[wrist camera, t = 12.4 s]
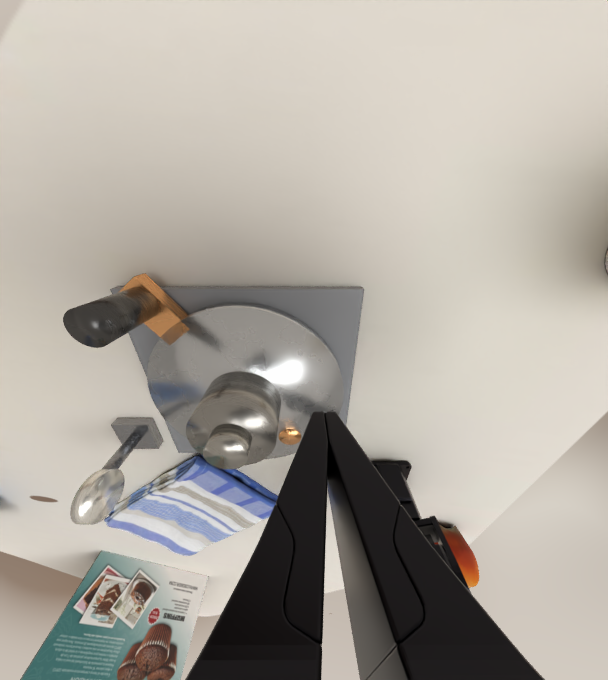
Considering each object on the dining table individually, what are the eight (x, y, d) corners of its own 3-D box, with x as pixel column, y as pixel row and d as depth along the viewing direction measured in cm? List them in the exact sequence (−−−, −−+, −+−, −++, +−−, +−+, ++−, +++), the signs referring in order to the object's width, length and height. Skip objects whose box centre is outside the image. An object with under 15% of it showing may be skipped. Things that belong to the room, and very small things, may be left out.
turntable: (374, 405, 22) (395, 457, 17) (246, 467, 27) (232, 522, 22) (217, 201, 14) (169, 186, 9) (73, 343, 19) (-11, 386, 14)
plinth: (341, 446, 27) (342, 454, 26) (181, 446, 27) (177, 454, 26) (361, 286, 18) (364, 290, 17) (118, 286, 18) (108, 289, 17)
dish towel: (109, 504, 34) (93, 526, 32) (202, 442, 27) (192, 463, 25) (197, 542, 40) (190, 563, 38) (291, 499, 34) (290, 521, 31)
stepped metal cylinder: (295, 407, 21) (293, 463, 16) (242, 436, 23) (225, 493, 18) (246, 357, 18) (225, 405, 13) (190, 394, 20) (154, 448, 15)
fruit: (482, 527, 34) (500, 603, 29) (444, 517, 40) (454, 578, 36) (437, 520, 33) (448, 598, 29) (405, 511, 39) (410, 573, 35)
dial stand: (163, 441, 26) (102, 533, 18) (130, 441, 26) (55, 533, 18) (152, 417, 25) (80, 509, 17) (117, 417, 25) (28, 509, 17)
